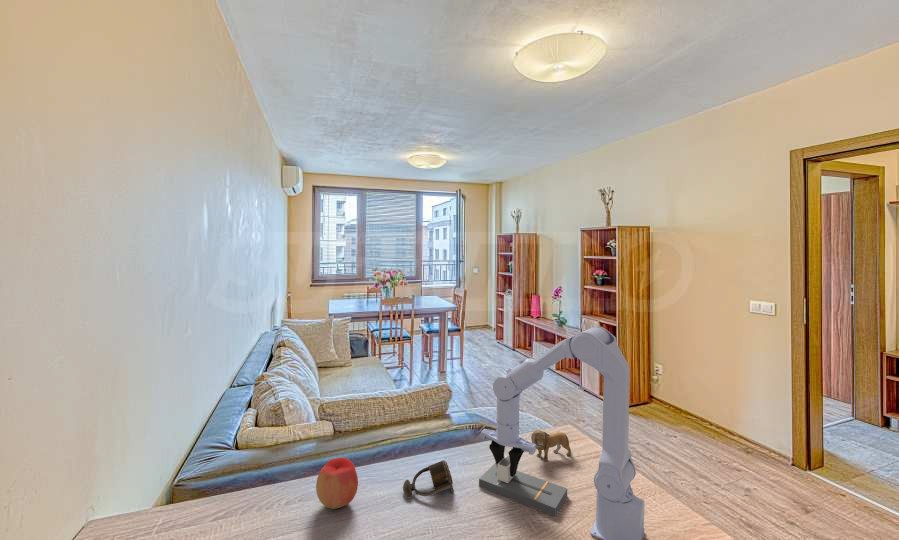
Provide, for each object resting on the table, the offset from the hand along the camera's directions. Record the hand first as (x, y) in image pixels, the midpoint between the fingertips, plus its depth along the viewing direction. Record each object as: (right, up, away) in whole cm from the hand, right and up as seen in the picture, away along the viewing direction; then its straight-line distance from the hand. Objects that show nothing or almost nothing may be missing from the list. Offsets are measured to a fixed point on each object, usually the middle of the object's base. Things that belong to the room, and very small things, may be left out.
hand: (506, 472), depth 99 cm
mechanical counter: (-20, -4, -2) cm, 20 cm away
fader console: (+4, -4, -2) cm, 5 cm away
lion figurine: (+15, -3, +14) cm, 21 cm away
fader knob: (0, -1, 0) cm, 1 cm away
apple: (-41, -4, -8) cm, 42 cm away
